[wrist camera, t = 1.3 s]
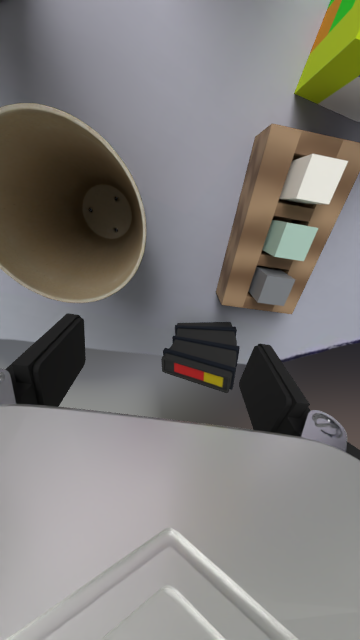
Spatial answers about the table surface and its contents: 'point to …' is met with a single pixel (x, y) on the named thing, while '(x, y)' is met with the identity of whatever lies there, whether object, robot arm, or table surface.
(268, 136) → the brown wooden block holder
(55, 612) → the robot arm
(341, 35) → the puzzle toy
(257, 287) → the grey block
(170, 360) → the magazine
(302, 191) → the key ivory
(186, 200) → the table surface
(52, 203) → the plant pot
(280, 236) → the key sage
